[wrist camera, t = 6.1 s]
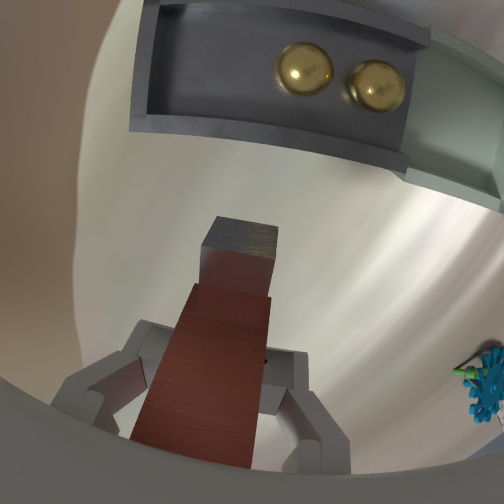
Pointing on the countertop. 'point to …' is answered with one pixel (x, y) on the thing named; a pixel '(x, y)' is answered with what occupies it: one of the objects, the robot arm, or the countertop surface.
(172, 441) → the red-brown bar
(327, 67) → the yellow-brown round piece
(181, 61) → the tray
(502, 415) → the candy bar box
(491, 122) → the tray
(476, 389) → the gear
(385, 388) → the countertop surface
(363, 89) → the shiny gold ball
